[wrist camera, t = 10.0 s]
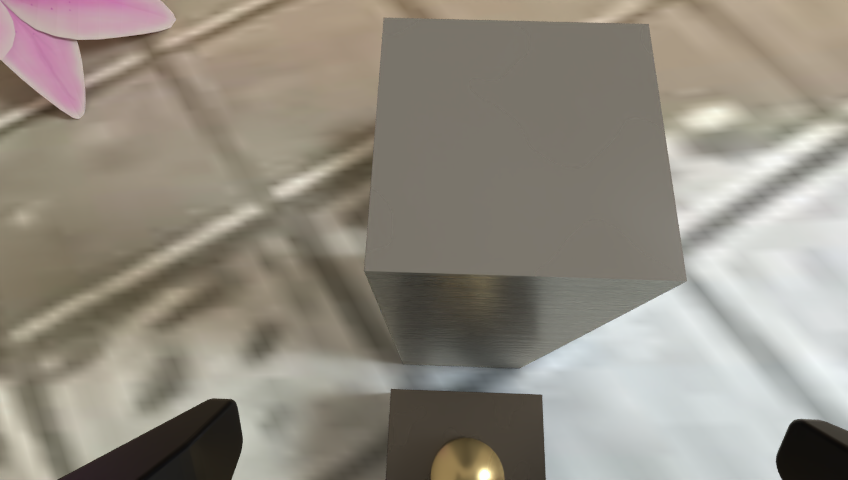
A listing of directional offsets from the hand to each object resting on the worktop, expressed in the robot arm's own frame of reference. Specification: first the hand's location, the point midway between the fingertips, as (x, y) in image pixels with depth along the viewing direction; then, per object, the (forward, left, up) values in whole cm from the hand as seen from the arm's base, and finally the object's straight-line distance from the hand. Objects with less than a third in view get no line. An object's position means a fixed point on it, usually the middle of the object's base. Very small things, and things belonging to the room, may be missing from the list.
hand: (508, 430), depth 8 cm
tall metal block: (+2, +4, -11) cm, 12 cm away
